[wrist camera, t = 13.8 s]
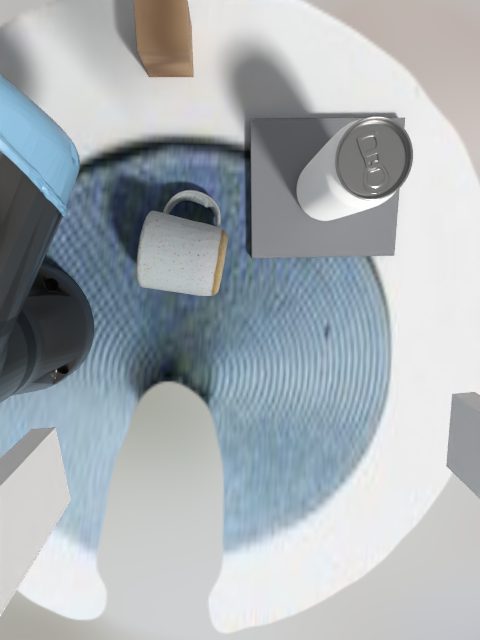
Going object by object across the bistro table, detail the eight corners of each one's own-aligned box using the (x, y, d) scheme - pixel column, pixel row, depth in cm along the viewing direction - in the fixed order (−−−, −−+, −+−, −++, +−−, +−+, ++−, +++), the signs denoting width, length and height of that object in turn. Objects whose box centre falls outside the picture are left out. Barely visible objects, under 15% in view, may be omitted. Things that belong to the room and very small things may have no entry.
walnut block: (149, 77, 33) (137, 50, 29) (146, 26, 32) (133, -10, 28) (193, 77, 33) (188, 51, 29) (191, 26, 32) (185, -9, 28)
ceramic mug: (219, 294, 38) (217, 303, 30) (148, 283, 37) (129, 289, 30) (234, 200, 36) (236, 185, 29) (160, 186, 36) (142, 168, 28)
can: (304, 229, 36) (342, 218, 24) (287, 169, 34) (319, 126, 23) (361, 210, 36) (427, 190, 24) (346, 148, 34) (408, 95, 22)
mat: (251, 257, 37) (252, 258, 36) (250, 122, 34) (250, 118, 33) (389, 255, 38) (394, 255, 37) (400, 121, 35) (405, 117, 34)
